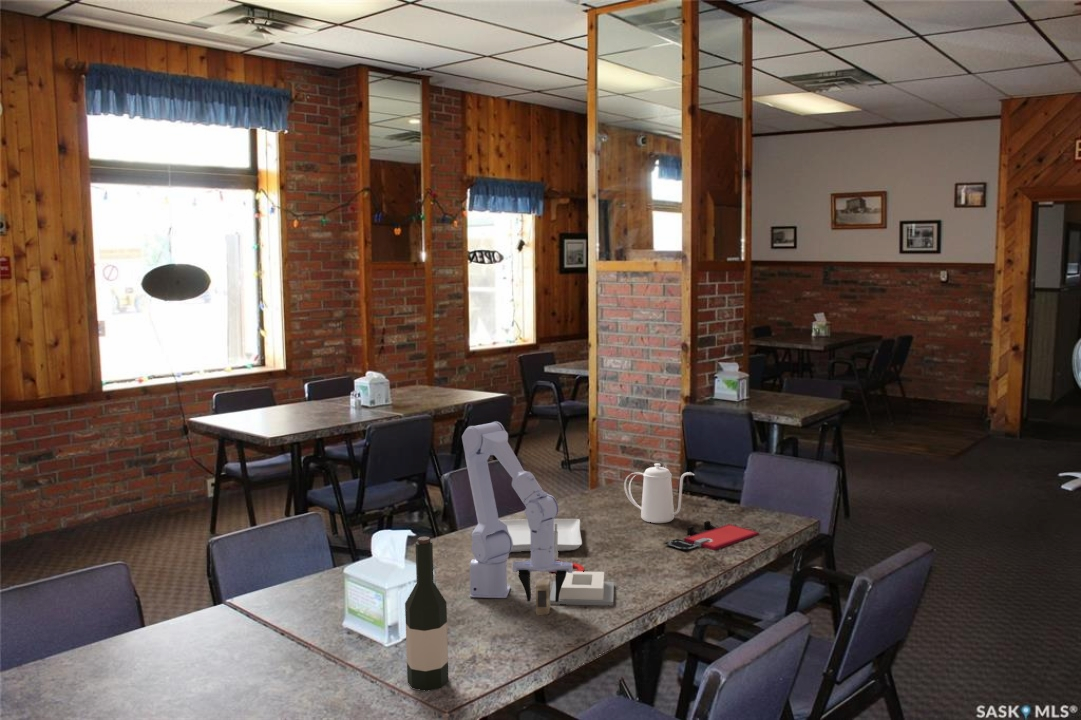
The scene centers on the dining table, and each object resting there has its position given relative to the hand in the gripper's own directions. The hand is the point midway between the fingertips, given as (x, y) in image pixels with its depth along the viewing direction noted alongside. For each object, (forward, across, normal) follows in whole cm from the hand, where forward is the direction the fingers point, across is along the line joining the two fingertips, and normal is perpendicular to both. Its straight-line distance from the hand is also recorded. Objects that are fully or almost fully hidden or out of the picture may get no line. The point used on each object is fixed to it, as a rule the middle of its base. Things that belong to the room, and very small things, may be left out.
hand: (543, 600), depth 218 cm
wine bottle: (+3, -20, -39) cm, 44 cm away
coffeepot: (+3, +31, +80) cm, 86 cm away
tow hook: (+3, +4, +29) cm, 29 cm away
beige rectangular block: (+3, 0, 0) cm, 3 cm away
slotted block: (+3, +9, +11) cm, 14 cm away
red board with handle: (+3, +46, +59) cm, 75 cm away
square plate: (+3, -7, +55) cm, 56 cm away
